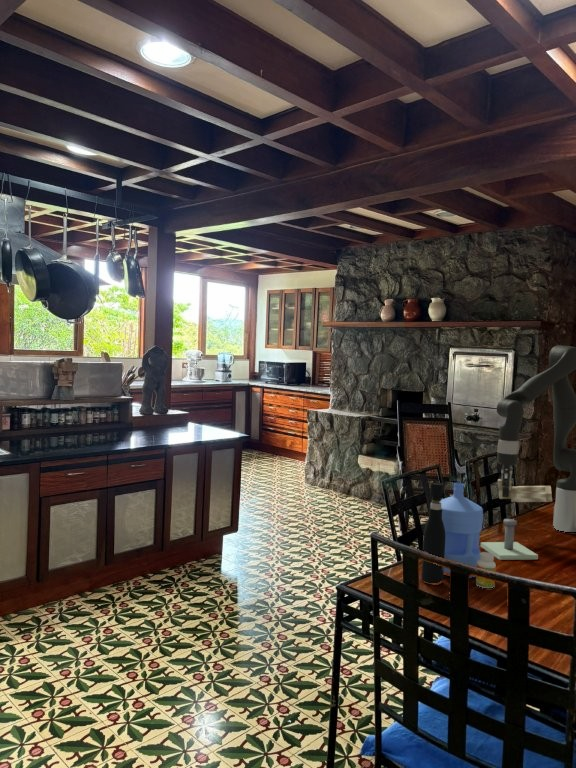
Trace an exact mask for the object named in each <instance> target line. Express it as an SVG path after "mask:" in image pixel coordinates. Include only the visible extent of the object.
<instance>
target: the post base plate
mask: <svg viewBox="0 0 576 768" xmlns="http://www.w3.org/2000/svg"><path fill="white" fill-rule="evenodd" d="M503 524H504V530H505V531H504V541H493V542H492V541H491V542H490V541H487V542H486V541H485V542H484V541H482V542H481V541H480V547H481V548H482V549H484V550H485V552H488V553H492V554H493V555H494V558H496V559H498V560H499V561H502V560H505V561H506V560H507V561H511V560H512V561H513V560H514V561H515V560H521V561H522V560H523V561H524V560H525V561H526V560H527V561H528V560H531V561H532V560H538V559H539V554H537V553H535V552H534V551H532V550H530V549H529V548H527V547H526V546H525V545H522V544H521V543H519V542H518V541H514V540H515V538H514V537H515V527H516V525H517V524H518V521H517V520H516V519H514V518H513V519H512V518H504V519H503Z"/></svg>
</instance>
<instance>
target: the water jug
mask: <svg viewBox="0 0 576 768" xmlns="http://www.w3.org/2000/svg"><path fill="white" fill-rule="evenodd" d="M464 486H465V484H464V483H462V482H454V483H453V494H452V495H451V496H449V497H446V498H441V501H440V503H441V504H442V506H441V507H442V508H441V509H442V521H443V524H444V528H445V555H444V558H446V559H449V560H453V561H457V562H461V563H465V564H468V565H472V566H475V567H477V561H478V560H479V559H480V553H481V552H482V551H481V550H480V533H481V531H482V530H483V522H484V508H483V507H482V506H480V505H479V504H477V503H475V502H474V501H472V500H470V499H468V498H467V497H465V496H464V495H465V494H464V491H465V489H464ZM444 572H447V573H449V574H450V570H449V569H447V568H444ZM472 577H473V578H476V576H470V578H469V579H472Z"/></svg>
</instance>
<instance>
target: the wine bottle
mask: <svg viewBox="0 0 576 768" xmlns="http://www.w3.org/2000/svg"><path fill="white" fill-rule="evenodd" d="M444 488H445V487H444V483H443V482H438V481H432V482H430V488H429V495H431V502H430V507H429V509H428V512H429V513H428V519H427V521H426V524H425V526H424V530H423V539H422V551H423V550H424V551H426V552H428V553H429V554H432V555H435V556H438V557H442V558H444V555H445V528H444V524H443V521H442V509H441V508H442V507H441V506H442V504H441V503H440V501H441V500H442V498H441V497H442V496H444ZM443 575H444V567H442V566H438V565H436V564H433V563H429V562H426V561H423V560H422V561H421V575H420V577H421V579H422V580H423V581H425V582H428V583H438V582H440V581H442V580H443V581H444V576H443ZM421 579H420V580H421Z"/></svg>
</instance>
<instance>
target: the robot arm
mask: <svg viewBox="0 0 576 768" xmlns="http://www.w3.org/2000/svg"><path fill="white" fill-rule="evenodd" d="M548 365H549V368H548V369H546V370H544V371H542V372H540V373H537V374H536V375H534V376H532V377H530V378H529V379H528V380H526V381H525V382H524V383H523V384H522V385H521V386H519V388H517V389H516V390H514V391H512V392H511V393H510V394H507V395H506V396H504V397H502V398H501V400H499V402H498V403H497V405H496V413H497V414H498V416H500V417H501V418H506V419H505V423H504V424H503V423H502V424H500V425H499V429H498V442H497V449H496V450H497V452H496V453H497V454H496V463H498V464H499V465H503V467H501V468H500V469H501V470H500V473H501V478H500V479H501V480H502V487H503V492H502V496H503V497H508V496H509V487H510V485H509V482H510V481H511V482H512V474H513V468H511V466H517V465H518V463H519V449H520V448H519V447H520V446H519V430H520V427H521V424H522V421H523V418H524V413H525V412H524V411H525V410H524V406H523V405H529V404H531V403H532V402H533V401H535V400H536V398H538V397H540V395H541V394H543V392H545V391H546V390H547V389H549V387H551V388H552V408H553V410H552V412H553V430H554V435H553V436H554V440H553V455H552V456H553V458H552V459H553V465H554V467H555V469H557V470H558V471H563V472H569V473H570V474H569V475H570V476H568V477H566V478H565V477H564V478H560V479H557V481H556V488H555V504H554V505H553V519H552V520H553V521H552V527H553V526H554V527H553V529H554V528H555V529H556V531H557V530H559V531H558V532H560V531H564V532H563V533H565V532H576V449H575V448H568V447H567V438H568V436H569V434H570V432H571V431H572V429H573V428H574V427H575V425H576V393H575V391H574V389H573V387H572V385H571V383H570V379H569V376H568V375H569V374H570V373H572V372H574V371H575V370H576V346H570V345H561V344H560V345H555V346H553V347H552V348H551V350H550V351H549V355H548ZM504 482H508V484H505V483H504ZM555 529H554V530H555Z"/></svg>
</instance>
